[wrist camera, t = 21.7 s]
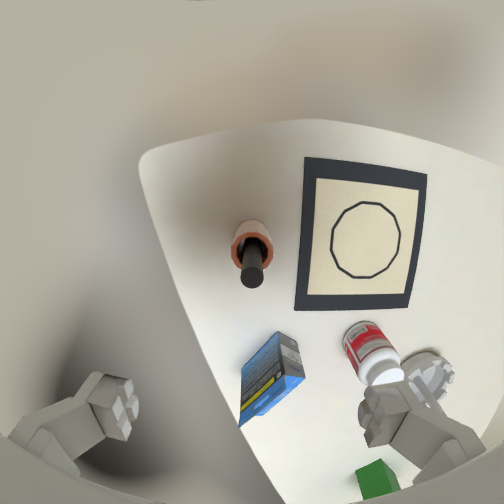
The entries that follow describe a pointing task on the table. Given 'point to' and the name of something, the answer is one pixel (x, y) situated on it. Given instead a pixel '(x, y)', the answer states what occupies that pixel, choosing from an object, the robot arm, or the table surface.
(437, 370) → the flag stand
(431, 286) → the table surface
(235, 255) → the pen cup
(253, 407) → the blue retail box
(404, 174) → the desk mat
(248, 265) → the marker
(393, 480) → the hardback book
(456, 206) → the table surface
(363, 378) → the pill bottle
